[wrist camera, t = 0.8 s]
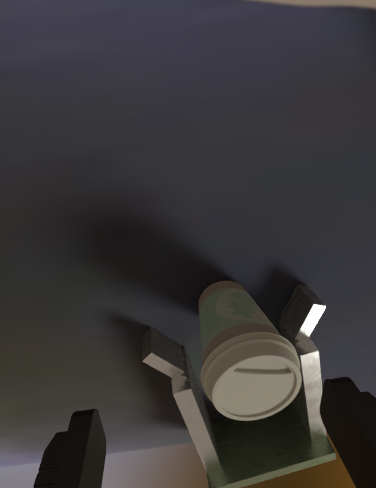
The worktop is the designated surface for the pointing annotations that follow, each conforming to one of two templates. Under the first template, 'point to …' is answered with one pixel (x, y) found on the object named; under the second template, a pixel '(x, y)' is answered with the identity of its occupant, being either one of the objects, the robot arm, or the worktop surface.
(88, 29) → the worktop surface
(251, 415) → the coffee cup
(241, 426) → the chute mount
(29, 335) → the worktop surface
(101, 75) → the worktop surface
